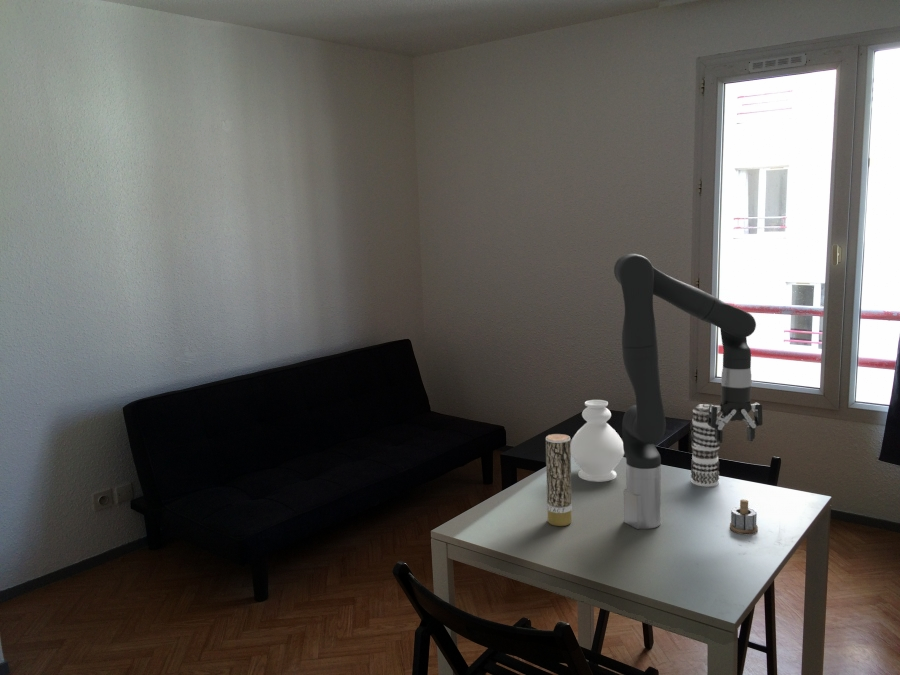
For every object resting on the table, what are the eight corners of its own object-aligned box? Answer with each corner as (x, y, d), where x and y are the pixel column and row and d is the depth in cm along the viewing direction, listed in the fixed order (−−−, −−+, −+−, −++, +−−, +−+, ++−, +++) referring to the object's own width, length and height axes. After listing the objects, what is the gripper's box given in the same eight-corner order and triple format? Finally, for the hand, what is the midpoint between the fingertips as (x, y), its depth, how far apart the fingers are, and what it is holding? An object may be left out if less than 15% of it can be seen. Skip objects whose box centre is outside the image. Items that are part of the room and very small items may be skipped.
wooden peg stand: (744, 536, 193) (744, 507, 192) (724, 527, 199) (724, 499, 198) (763, 530, 196) (764, 502, 194) (743, 521, 202) (743, 494, 201)
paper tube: (555, 515, 212) (553, 432, 208) (576, 520, 208) (574, 436, 204) (543, 523, 207) (540, 438, 203) (564, 529, 202) (562, 442, 199)
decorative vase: (581, 463, 256) (580, 394, 252) (631, 470, 247) (631, 398, 243) (562, 479, 241) (560, 406, 237) (614, 487, 232) (613, 411, 228)
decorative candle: (683, 479, 236) (684, 404, 232) (708, 475, 239) (708, 401, 235) (701, 488, 228) (702, 411, 224) (726, 484, 230) (727, 407, 226)
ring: (751, 532, 193) (751, 517, 192) (728, 526, 197) (728, 512, 196) (758, 524, 198) (759, 510, 197) (736, 519, 201) (736, 505, 201)
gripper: (755, 379, 201) (753, 436, 203) (704, 381, 200) (703, 438, 202) (768, 385, 193) (766, 444, 196) (716, 387, 193) (714, 446, 195)
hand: (734, 441), depth 199 cm, fingers open, 8 cm apart
